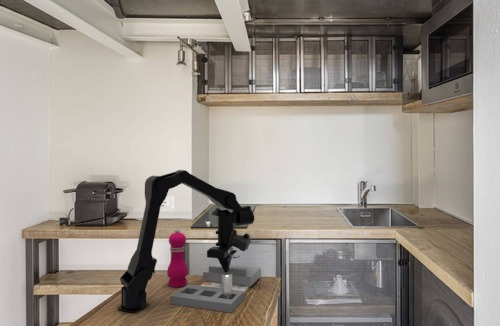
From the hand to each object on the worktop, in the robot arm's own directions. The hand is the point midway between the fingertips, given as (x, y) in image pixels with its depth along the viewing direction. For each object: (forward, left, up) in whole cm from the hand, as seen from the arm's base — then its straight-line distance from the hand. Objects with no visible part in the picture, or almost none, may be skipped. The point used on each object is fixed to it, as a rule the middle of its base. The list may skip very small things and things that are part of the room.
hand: (226, 272), depth 125 cm
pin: (+6, -14, -5) cm, 16 cm away
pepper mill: (-17, -4, -5) cm, 18 cm away
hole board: (0, -14, -5) cm, 15 cm away
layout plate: (0, -1, -5) cm, 5 cm away
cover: (0, +6, -5) cm, 8 cm away
